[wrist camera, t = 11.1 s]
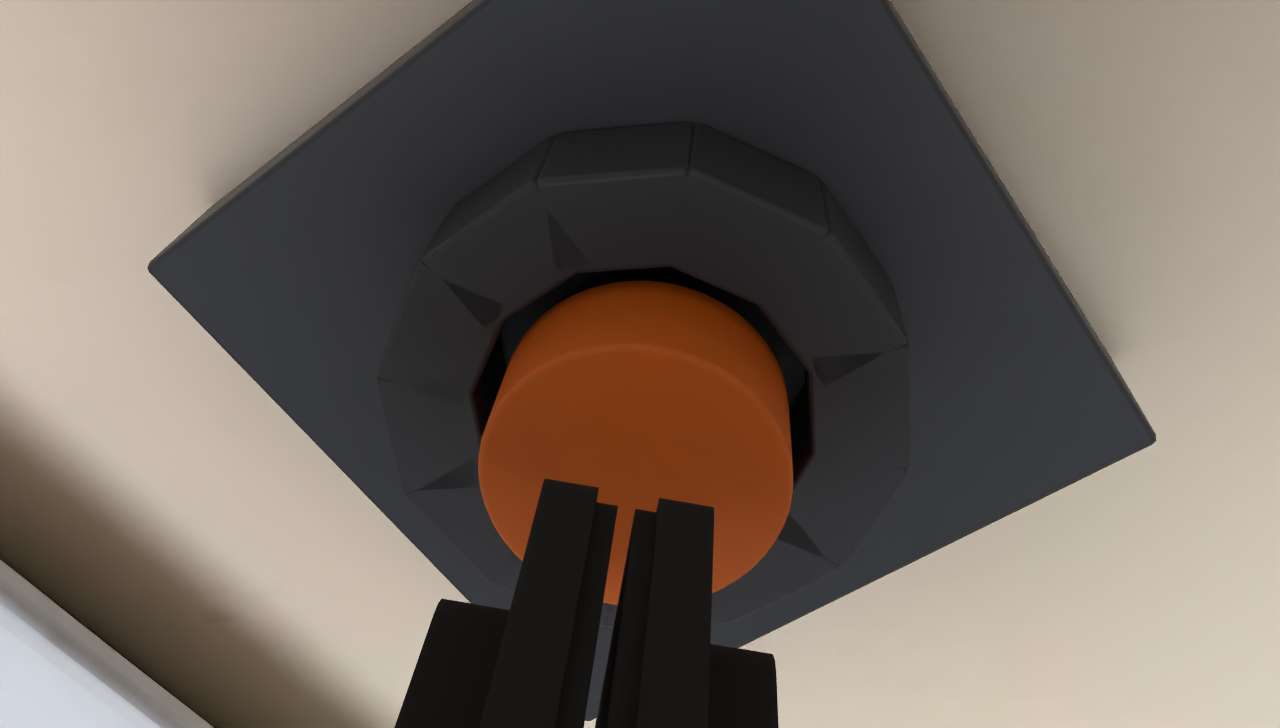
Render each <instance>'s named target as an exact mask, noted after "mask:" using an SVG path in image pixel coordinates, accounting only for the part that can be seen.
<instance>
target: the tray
mask: <svg viewBox="0 0 1280 728" xmlns="http://www.w3.org/2000/svg"><path fill="white" fill-rule="evenodd" d="M0 728H214V727H213V726H211V725H210V724H209V723H207V722H206V721H205V720H204V719H202V718H201V717H200V716H198V715H197V714H196V713H195V712H193V711H192V710H191V709H189V708H188V707H187V706H185V705H184V704H183V703H182V702H180V701H179V700H178V699H176V698H175V697H174V696H173V695H171V694H170V693H169V692H167V691H166V690H165V689H164V688H162V687H161V686H160V685H158V684H157V683H156V682H155V681H153V680H152V679H151V678H150V677H148V676H147V675H146V674H144V673H143V672H142V671H141V670H139V669H138V668H137V667H136V666H134V665H133V664H132V663H130V662H129V661H128V660H127V659H125V658H124V657H123V656H121V655H120V654H119V653H118V652H116V651H115V650H114V649H113V648H111V647H110V646H109V645H107V644H106V643H105V642H104V641H102V640H101V639H100V638H99V637H97V636H96V635H95V634H93V633H92V632H91V631H90V630H88V629H87V628H86V627H85V626H83V625H82V624H81V623H79V622H78V621H77V620H76V619H74V618H73V617H72V616H71V615H69V614H68V613H67V612H66V611H64V610H63V609H62V608H61V607H59V606H58V605H57V604H56V603H54V602H53V601H52V600H51V599H50V598H48V597H47V596H46V595H45V594H43V593H42V592H41V591H40V590H38V589H37V588H36V587H35V586H33V585H32V584H31V583H30V582H28V581H27V580H26V579H25V578H23V577H22V576H21V575H20V574H18V573H17V572H16V571H15V570H13V569H12V568H11V567H9V566H8V565H7V564H6V563H4V562H3V561H2V560H1V559H0Z"/></svg>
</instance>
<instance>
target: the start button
mask: <svg viewBox="0 0 1280 728" xmlns="http://www.w3.org/2000/svg"><path fill="white" fill-rule="evenodd" d="M478 475H479V483H480V490H481V493H482V497H483V500H484V504H485V507H486V509H487V512H488V514H489V516H490V518H491V521H492V523H493V525H494V526H495V528H496V530H497V531H498V533H499V534H500V536H501V538H502V539H503V541H504V542H505V543H506V544H507V545H508V547H509V548H510V549H511V550H512V551H513V553H514V554H515V555H516V556H517V557H518V558H519V559H521V560H522V561H523V558H524V554H525V550H526V546H527V542H528V539H529V535H530V531H531V527H532V523H533V519H534V516H535V512H536V508H537V504H538V500H539V496H540V493H541V489H542V485H543V482H544V479H551V480H557V481H563V482H569V483H575V484H581V485H587V486H593V487H598V488H599V490H598V497H597V502H598V503H604V504H610V505H616V506H618V509H617V516H616V522H615V528H614V535H613V541H612V548H611V554H610V561H609V567H608V573H607V580H606V586H605V593H604V599H603V603H608V604H613V605H618V599H619V594H620V589H621V583H622V578H623V572H624V567H625V561H626V556H627V551H628V545H629V540H630V534H631V529H632V524H633V518H634V513H635V509H640V510H646V511H652V512H656V509H657V505H658V500H659V498H664V499H670V500H675V501H681V502H687V503H693V504H699V505H705V506H711V507H714V544H713V577H712V593H714V592H716V591H718V590H721V589H723V588H725V587H726V586H728V585H730V584H731V583H733V582H735V581H736V580H738V579H739V578H741V577H742V576H743V575H744V574H746V573H747V572H748V571H749V570H751V569H752V568H753V567H754V566H755V565H756V564H757V563H758V562H759V561H760V560H761V559H762V558H763V557H764V556H765V554H766V553H767V552H768V550H769V549H770V548H771V546H772V545H773V544H774V542H775V541H776V539H777V537H778V535H779V534H780V532H781V530H782V528H783V526H784V524H785V521H786V518H787V515H788V512H789V510H790V505H791V499H792V494H793V463H792V448H791V433H790V418H789V403H788V396H787V388H786V384H785V381H784V377H783V374H782V371H781V368H780V366H779V364H778V362H777V360H776V358H775V355H774V354H773V352H772V351H771V349H770V348H769V346H768V344H767V343H766V341H765V340H764V339H763V338H762V336H761V335H760V334H759V333H758V332H757V331H756V329H755V328H754V327H753V326H752V325H751V324H750V323H749V322H747V321H746V320H745V319H744V318H743V317H742V316H741V315H739V314H738V313H737V312H735V311H734V310H732V309H731V308H729V307H728V306H726V305H725V304H724V303H722V302H720V301H718V300H716V299H714V298H712V297H710V296H708V295H706V294H704V293H701V292H699V291H696V290H693V289H690V288H688V287H684V286H680V285H675V284H671V283H666V282H657V281H623V282H615V283H608V284H605V285H601V286H597V287H593V288H589V289H587V290H584V291H582V292H579V293H577V294H574V295H572V296H570V297H569V298H567V299H565V300H563V301H561V302H560V303H558V304H556V305H555V306H553V307H552V308H551V309H550V310H548V311H547V312H546V313H544V314H543V315H542V316H541V317H540V318H539V319H538V320H537V321H536V322H535V323H534V324H533V325H532V326H531V327H530V328H529V329H528V330H527V332H526V333H525V335H524V336H523V337H522V339H521V340H520V341H519V343H518V345H517V347H516V349H515V351H514V353H513V354H512V357H511V359H510V362H509V365H508V367H507V370H506V373H505V376H504V378H503V381H502V384H501V386H500V389H499V392H498V395H497V397H496V400H495V403H494V405H493V408H492V411H491V414H490V416H489V419H488V422H487V424H486V427H485V430H484V433H483V436H482V439H481V444H480V450H479V455H478Z"/></svg>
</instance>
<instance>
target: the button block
mask: <svg viewBox="0 0 1280 728" xmlns="http://www.w3.org/2000/svg"><path fill="white" fill-rule="evenodd" d="M148 270H149V272H150V273H151V274H152V275H153V276H154V277H155V278H156V279H157V281H158V282H159V283H160V284H161V285H162V286H163V287H164V288H165V289H166V290H167V291H168V292H169V293H170V294H171V295H172V296H173V297H174V298H175V299H176V300H177V301H178V302H179V303H180V304H181V305H182V306H183V307H184V308H185V309H186V310H187V311H188V312H189V313H190V314H191V316H192V317H193V318H194V319H195V320H196V321H197V322H198V323H199V324H200V325H201V326H202V327H203V328H204V329H205V330H206V331H207V332H208V333H209V334H210V335H211V336H212V337H213V338H214V339H215V340H216V341H217V342H218V343H219V344H220V345H221V346H222V347H223V348H224V349H225V351H226V352H227V353H228V354H229V355H230V356H231V357H232V358H233V359H234V360H235V361H236V362H237V363H238V364H239V365H240V366H241V367H242V368H243V369H244V370H245V371H246V372H247V373H248V374H249V375H250V376H251V377H252V378H253V379H254V380H255V381H256V382H257V383H258V384H259V385H260V387H261V388H262V389H263V390H264V391H265V392H266V393H267V394H268V395H269V396H270V397H271V398H272V399H273V400H274V401H275V402H276V403H277V404H278V405H279V406H280V407H281V408H282V409H283V410H284V411H285V412H286V413H287V414H288V415H289V416H290V417H291V418H292V419H293V420H294V422H295V423H296V424H297V425H298V426H299V427H300V428H301V429H302V430H303V431H304V432H305V433H306V434H307V435H308V436H309V437H310V438H311V439H312V440H313V441H314V442H315V443H316V444H317V445H318V446H319V447H320V448H321V449H322V450H323V451H324V452H325V453H326V454H327V455H328V457H329V458H330V459H331V460H332V461H333V462H334V463H335V464H336V465H337V466H338V467H339V468H340V469H341V470H342V471H343V472H344V473H345V474H346V475H347V476H348V477H349V478H350V479H351V480H352V481H353V482H354V483H355V484H356V485H357V486H358V487H359V488H360V489H361V490H362V492H363V493H364V494H365V495H366V496H367V497H368V498H369V499H370V500H371V501H372V502H373V503H374V504H375V505H376V506H377V507H378V508H379V509H380V510H381V511H382V512H383V513H384V514H385V515H386V516H387V517H388V518H389V519H390V520H391V521H392V522H393V523H394V524H395V525H396V527H397V528H398V529H399V530H400V531H401V532H402V533H403V534H404V535H405V536H406V537H407V538H408V539H409V540H410V541H411V542H412V543H413V544H414V545H415V546H416V547H417V548H418V549H419V550H420V551H421V552H422V553H423V554H424V555H425V556H426V557H427V558H428V559H429V560H430V562H431V563H432V564H433V565H434V566H435V567H436V568H437V569H438V570H439V571H440V572H441V573H442V574H443V575H444V576H445V577H446V578H447V579H448V580H449V581H450V582H451V583H452V584H453V585H454V586H455V587H456V588H457V589H458V590H459V591H460V592H461V593H462V594H463V595H464V597H465V598H466V599H467V600H468V601H469V602H470V603H471V604H476V605H482V606H488V607H494V608H500V609H506V610H510V608H511V604H512V600H513V596H514V592H515V588H516V585H517V581H518V577H519V573H520V569H521V565H522V562H523V561H522V560H521V559H519V558H518V557H517V556H516V555H515V554H514V553H513V551H512V550H511V549H510V548H509V547H508V545H507V544H506V543H505V542H504V541H503V539H502V538H501V536H500V534H499V533H498V531H497V530H496V528H495V526H494V525H493V523H492V521H491V518H490V516H489V514H488V512H487V509H486V507H485V504H484V500H483V497H482V493H481V490H480V483H479V475H478V455H479V450H480V444H481V439H482V436H483V433H484V430H485V427H486V424H487V422H488V419H489V416H490V414H491V411H492V408H493V405H494V403H495V400H496V397H497V395H498V392H499V389H500V386H501V384H502V381H503V378H504V376H505V373H506V370H507V367H508V365H509V362H510V359H511V357H512V354H513V353H514V351H515V349H516V347H517V345H518V343H519V341H520V340H521V339H522V337H523V336H524V335H525V333H526V332H527V330H528V329H529V328H530V327H531V326H532V325H533V324H534V323H535V322H536V321H537V320H538V319H539V318H540V317H541V316H542V315H543V314H544V313H546V312H547V311H548V310H550V309H551V308H552V307H553V306H555V305H556V304H558V303H560V302H561V301H563V300H565V299H567V298H569V297H570V296H572V295H574V294H577V293H579V292H582V291H584V290H587V289H589V288H593V287H597V286H601V285H605V284H608V283H615V282H623V281H657V282H666V283H671V284H675V285H680V286H684V287H688V288H690V289H693V290H696V291H699V292H701V293H704V294H706V295H708V296H710V297H712V298H714V299H716V300H718V301H720V302H722V303H724V304H725V305H726V306H728V307H729V308H731V309H732V310H734V311H735V312H737V313H738V314H739V315H741V316H742V317H743V318H744V319H745V320H746V321H747V322H749V323H750V324H751V325H752V326H753V327H754V328H755V329H756V331H757V332H758V333H759V334H760V335H761V336H762V338H763V339H764V340H765V341H766V343H767V344H768V346H769V348H770V349H771V351H772V352H773V354H774V355H775V358H776V360H777V362H778V364H779V366H780V368H781V371H782V374H783V377H784V381H785V384H786V388H787V396H788V403H789V418H790V433H791V448H792V463H793V494H792V499H791V505H790V510H789V512H788V515H787V518H786V521H785V524H784V526H783V528H782V530H781V532H780V534H779V535H778V537H777V539H776V541H775V542H774V544H773V545H772V546H771V548H770V549H769V550H768V552H767V553H766V554H765V556H764V557H763V558H762V559H761V560H760V561H759V562H758V563H757V564H756V565H755V566H754V567H753V568H752V569H751V570H749V571H748V572H747V573H746V574H744V575H743V576H742V577H741V578H739V579H738V580H736V581H735V582H733V583H731V584H730V585H728V586H726V587H725V588H723V589H721V590H718V591H716V592H714V593H712V610H711V642H710V644H714V645H720V646H726V647H732V648H739V647H741V646H743V645H745V644H747V643H749V642H751V641H753V640H755V639H757V638H759V637H761V636H763V635H765V634H768V633H770V632H772V631H774V630H776V629H778V628H780V627H782V626H784V625H786V624H788V623H790V622H792V621H794V620H796V619H798V618H800V617H802V616H804V615H806V614H808V613H810V612H812V611H814V610H816V609H818V608H820V607H822V606H824V605H826V604H829V603H831V602H833V601H835V600H837V599H839V598H841V597H843V596H845V595H847V594H849V593H851V592H853V591H855V590H857V589H859V588H861V587H863V586H865V585H867V584H869V583H871V582H873V581H875V580H877V579H879V578H881V577H883V576H885V575H887V574H890V573H892V572H894V571H896V570H898V569H900V568H902V567H904V566H906V565H908V564H910V563H912V562H914V561H916V560H918V559H920V558H922V557H924V556H926V555H928V554H930V553H932V552H934V551H936V550H938V549H940V548H942V547H944V546H946V545H948V544H951V543H953V542H955V541H957V540H959V539H961V538H963V537H965V536H967V535H969V534H971V533H973V532H975V531H977V530H979V529H981V528H983V527H985V526H987V525H989V524H991V523H993V522H995V521H997V520H999V519H1001V518H1003V517H1005V516H1007V515H1009V514H1012V513H1014V512H1016V511H1018V510H1020V509H1022V508H1024V507H1026V506H1028V505H1030V504H1032V503H1034V502H1036V501H1038V500H1040V499H1042V498H1044V497H1046V496H1048V495H1050V494H1052V493H1054V492H1056V491H1058V490H1060V489H1062V488H1064V487H1066V486H1068V485H1070V484H1073V483H1075V482H1077V481H1079V480H1081V479H1083V478H1085V477H1087V476H1089V475H1091V474H1093V473H1095V472H1097V471H1099V470H1101V469H1103V468H1105V467H1107V466H1109V465H1111V464H1113V463H1115V462H1117V461H1119V460H1121V459H1123V458H1125V457H1127V456H1129V455H1131V454H1134V453H1136V452H1138V451H1140V450H1142V449H1144V448H1146V447H1148V446H1150V445H1152V444H1153V443H1154V442H1155V441H1156V434H1155V432H1154V431H1153V429H1152V427H1151V426H1150V424H1149V422H1148V420H1147V419H1146V417H1145V415H1144V414H1143V412H1142V410H1141V408H1140V407H1139V405H1138V403H1137V402H1136V400H1135V398H1134V396H1133V395H1132V393H1131V391H1130V390H1129V388H1128V386H1127V384H1126V383H1125V381H1124V379H1123V378H1122V376H1121V374H1120V372H1119V371H1118V369H1117V367H1116V366H1115V364H1114V362H1113V361H1112V359H1111V357H1110V356H1109V354H1108V353H1107V351H1106V349H1105V348H1104V346H1103V344H1102V343H1101V341H1100V340H1099V338H1098V336H1097V335H1096V333H1095V332H1094V330H1093V328H1092V327H1091V325H1090V323H1089V322H1088V320H1087V319H1086V317H1085V315H1084V314H1083V312H1082V310H1081V309H1080V307H1079V306H1078V304H1077V302H1076V301H1075V299H1074V298H1073V296H1072V294H1071V293H1070V291H1069V289H1068V288H1067V286H1066V285H1065V283H1064V281H1063V280H1062V278H1061V277H1060V275H1059V273H1058V272H1057V270H1056V268H1055V267H1054V265H1053V264H1052V262H1051V260H1050V259H1049V257H1048V256H1047V254H1046V252H1045V251H1044V249H1043V247H1042V246H1041V244H1040V243H1039V241H1038V239H1037V238H1036V236H1035V234H1034V233H1033V231H1032V230H1031V228H1030V226H1029V225H1028V223H1027V222H1026V220H1025V218H1024V217H1023V215H1022V213H1021V212H1020V210H1019V209H1018V207H1017V205H1016V204H1015V202H1014V201H1013V199H1012V197H1011V196H1010V194H1009V192H1008V191H1007V189H1006V188H1005V186H1004V184H1003V183H1002V181H1001V180H1000V178H999V176H998V175H997V173H996V171H995V170H994V168H993V167H992V165H991V163H990V162H989V160H988V158H987V157H986V155H985V154H984V152H983V150H982V149H981V147H980V146H979V144H978V142H977V141H976V139H975V137H974V136H973V134H972V133H971V131H970V129H969V128H968V126H967V125H966V123H965V121H964V120H963V118H962V116H961V115H960V113H959V112H958V110H957V108H956V107H955V105H954V104H953V102H952V100H951V99H950V97H949V95H948V94H947V92H946V91H945V89H944V87H943V86H942V84H941V82H940V81H939V79H938V78H937V76H936V74H935V73H934V71H933V70H932V68H931V66H930V65H929V63H928V61H927V60H926V58H925V57H924V55H923V53H922V52H921V50H920V49H919V47H918V45H917V44H916V42H915V40H914V39H913V37H912V36H911V34H910V32H909V31H908V29H907V28H906V26H905V24H904V23H903V21H902V19H901V18H900V16H899V15H898V13H897V11H896V10H895V8H894V6H893V5H892V3H891V2H890V0H473V1H472V2H470V3H469V4H468V5H467V6H465V7H464V8H463V9H462V10H460V11H459V12H458V13H456V14H455V15H454V16H453V17H451V18H450V19H449V20H448V21H446V22H445V23H444V24H443V25H441V26H440V27H439V28H437V29H436V30H435V31H434V32H432V33H431V34H430V35H429V36H427V37H426V38H425V39H424V40H422V41H421V42H420V43H418V44H417V45H416V46H415V47H413V48H412V49H411V50H410V51H408V52H407V53H406V54H404V55H403V56H402V57H401V58H399V59H398V60H397V61H396V62H394V63H393V64H392V65H391V66H389V67H388V68H387V69H385V70H384V71H383V72H382V73H380V74H379V75H378V76H377V77H375V78H374V79H373V80H372V81H370V82H369V83H368V84H366V85H365V86H364V87H363V88H361V89H360V90H359V91H358V92H356V93H355V94H354V95H353V96H351V97H350V98H349V99H347V100H346V101H345V102H344V103H342V104H341V105H340V106H339V107H337V108H336V109H335V110H334V111H332V112H331V113H330V114H328V115H327V116H326V117H325V118H323V119H322V120H321V121H320V122H318V123H317V124H316V125H314V126H313V127H312V128H311V129H309V130H308V131H307V132H306V133H304V134H303V135H302V136H301V137H299V138H298V139H297V140H295V141H294V142H293V143H292V144H290V145H289V146H288V147H287V148H285V149H284V150H283V151H282V152H280V153H279V154H278V155H276V156H275V157H274V158H273V159H271V160H270V161H269V162H268V163H266V164H265V165H264V166H263V167H261V168H260V169H259V170H257V171H256V172H255V173H254V174H252V175H251V176H250V177H249V178H247V179H246V180H245V181H244V182H242V183H241V184H240V185H238V186H237V187H236V188H235V189H233V190H232V191H231V192H230V193H228V194H227V195H226V196H224V197H223V198H222V199H221V200H219V201H218V202H217V203H216V204H214V205H213V206H212V207H211V208H209V209H208V210H207V211H206V212H205V213H204V214H202V215H201V216H200V217H199V218H198V219H197V220H196V221H195V222H194V223H193V224H191V225H190V226H189V227H188V228H187V229H186V230H185V231H184V232H183V233H181V234H180V235H179V236H178V237H177V238H176V239H175V240H174V241H173V242H171V243H170V244H169V245H168V246H167V247H166V248H165V249H164V250H163V251H161V252H160V253H159V254H158V255H157V256H156V257H155V258H154V259H153V260H151V261H150V263H149V265H148ZM616 610H617V605H613V604H608V603H603V606H602V612H601V618H600V625H599V631H598V638H597V644H596V651H595V657H594V663H593V670H592V676H591V683H590V689H589V696H588V702H587V708H586V715H585V720H586V721H591V720H593V719H595V718H597V714H598V708H599V703H600V697H601V692H602V686H603V681H604V675H605V670H606V665H607V659H608V654H609V648H610V643H611V637H612V632H613V627H614V621H615V616H616Z"/></svg>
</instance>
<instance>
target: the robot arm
mask: <svg viewBox="0 0 1280 728" xmlns="http://www.w3.org/2000/svg"><path fill="white" fill-rule="evenodd" d="M598 490H599V488H598V487H593V486H587V485H581V484H575V483H569V482H563V481H557V480H551V479H544V482H543V485H542V489H541V493H540V496H539V500H538V504H537V508H536V512H535V516H534V519H533V523H532V527H531V531H530V535H529V539H528V542H527V546H526V550H525V554H524V558H523V562H522V565H521V569H520V573H519V577H518V581H517V585H516V588H515V592H514V596H513V600H512V604H511V608H510V610H506V609H500V608H494V607H488V606H482V605H476V604H470V603H464V602H458V601H452V600H446V599H441V600H440V602H439V603H438V605H437V608H436V610H435V613H434V615H433V618H432V621H431V624H430V627H429V630H428V633H427V635H426V638H425V641H424V644H423V647H422V650H421V653H420V656H419V659H418V661H417V664H416V667H415V670H414V673H413V676H412V679H411V682H410V685H409V688H408V690H407V693H406V696H405V699H404V702H403V705H402V708H401V711H400V714H399V716H398V719H397V722H396V725H395V728H584V721H585V715H586V708H587V702H588V696H589V689H590V683H591V676H592V670H593V663H594V657H595V651H596V644H597V638H598V631H599V625H600V618H601V612H602V606H603V599H604V593H605V586H606V580H607V573H608V567H609V561H610V554H611V548H612V541H613V535H614V528H615V522H616V516H617V509H618V506H616V505H610V504H604V503H598V502H597V497H598ZM713 544H714V507H711V506H705V505H699V504H693V503H687V502H681V501H675V500H670V499H664V498H659V500H658V505H657V509H656V512H652V511H646V510H640V509H635V513H634V518H633V524H632V529H631V534H630V540H629V545H628V551H627V556H626V561H625V567H624V572H623V578H622V583H621V589H620V594H619V599H618V605H617V610H616V616H615V621H614V627H613V632H612V637H611V643H610V648H609V654H608V659H607V665H606V670H605V675H604V681H603V686H602V692H601V697H600V703H599V708H598V714H597V720H596V726H595V728H778V707H777V683H776V667H775V660H774V657H773V655H772V654H768V653H762V652H756V651H750V650H744V649H738V648H732V647H726V646H720V645H714V644H710V642H711V610H712V577H713Z"/></svg>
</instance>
